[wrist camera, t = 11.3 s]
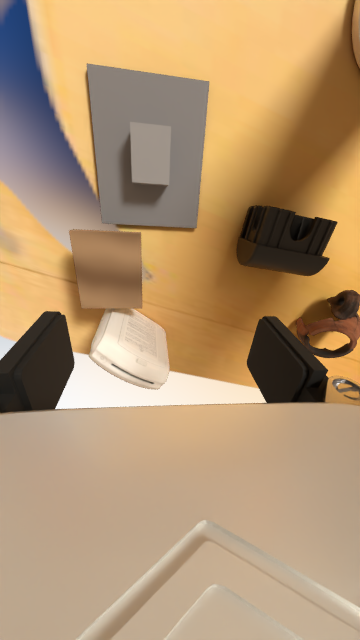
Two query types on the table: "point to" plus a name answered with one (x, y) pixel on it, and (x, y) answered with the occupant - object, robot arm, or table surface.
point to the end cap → (283, 241)
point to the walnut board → (108, 268)
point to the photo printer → (131, 348)
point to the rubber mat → (116, 147)
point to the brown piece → (335, 324)
